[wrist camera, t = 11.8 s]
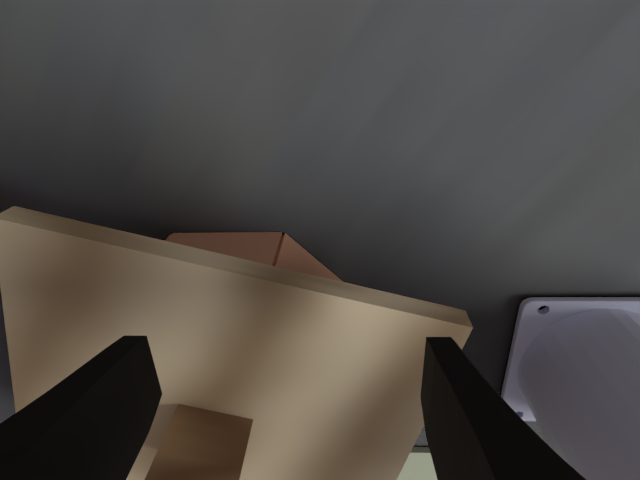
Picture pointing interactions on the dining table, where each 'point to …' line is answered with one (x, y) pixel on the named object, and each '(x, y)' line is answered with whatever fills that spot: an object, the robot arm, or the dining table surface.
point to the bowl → (257, 249)
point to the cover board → (224, 351)
